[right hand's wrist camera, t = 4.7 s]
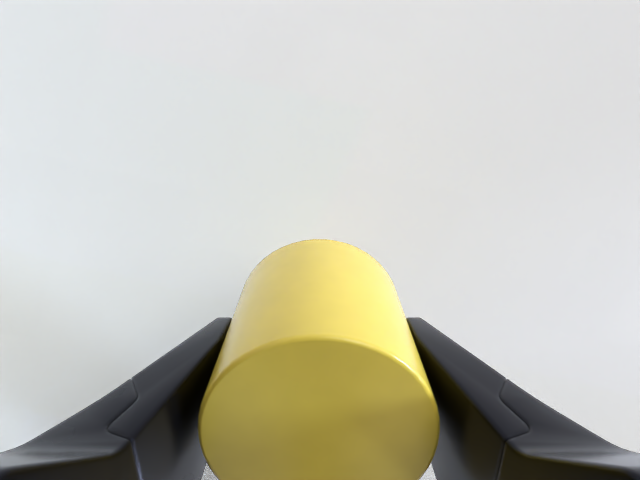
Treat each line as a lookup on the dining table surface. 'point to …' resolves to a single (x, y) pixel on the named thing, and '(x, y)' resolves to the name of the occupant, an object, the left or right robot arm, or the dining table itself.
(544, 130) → the dining table surface
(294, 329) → the canister
